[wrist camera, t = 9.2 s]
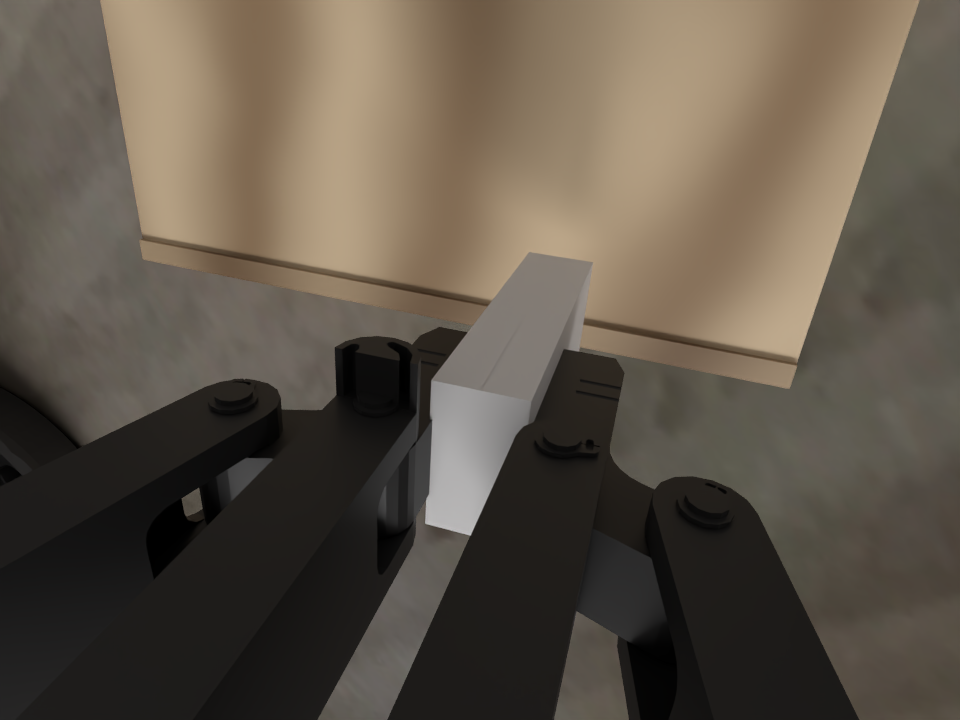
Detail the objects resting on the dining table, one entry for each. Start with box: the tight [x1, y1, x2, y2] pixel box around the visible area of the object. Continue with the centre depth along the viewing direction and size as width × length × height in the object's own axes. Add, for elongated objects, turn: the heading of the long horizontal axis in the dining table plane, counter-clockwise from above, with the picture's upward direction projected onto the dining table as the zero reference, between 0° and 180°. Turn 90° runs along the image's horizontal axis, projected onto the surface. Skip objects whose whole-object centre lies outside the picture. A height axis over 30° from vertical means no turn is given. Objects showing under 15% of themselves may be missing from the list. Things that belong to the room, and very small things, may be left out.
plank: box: [100, 0, 919, 389], centre depth 18 cm, size 21×10×2 cm, turn 87°
